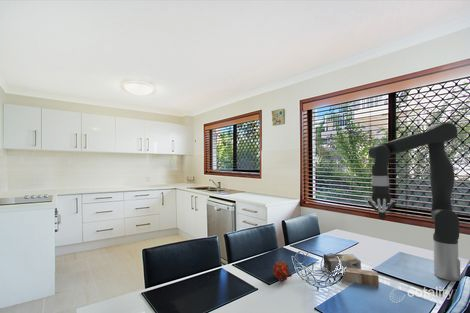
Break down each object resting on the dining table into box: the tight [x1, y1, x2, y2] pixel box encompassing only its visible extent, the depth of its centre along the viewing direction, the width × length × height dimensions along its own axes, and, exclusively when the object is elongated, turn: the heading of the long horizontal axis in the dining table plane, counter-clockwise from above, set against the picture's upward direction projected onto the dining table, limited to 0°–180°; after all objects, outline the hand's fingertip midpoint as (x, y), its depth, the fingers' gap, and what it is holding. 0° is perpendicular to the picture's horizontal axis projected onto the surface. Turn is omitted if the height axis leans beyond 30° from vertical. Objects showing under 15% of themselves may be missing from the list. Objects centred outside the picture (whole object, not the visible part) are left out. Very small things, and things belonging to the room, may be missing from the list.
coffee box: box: [323, 253, 362, 273], centre depth 129 cm, size 9×6×16 cm
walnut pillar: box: [341, 267, 380, 287], centre depth 116 cm, size 5×5×15 cm
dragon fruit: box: [272, 260, 293, 282], centre depth 120 cm, size 8×8×12 cm
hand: (382, 219), depth 123 cm, fingers closed
